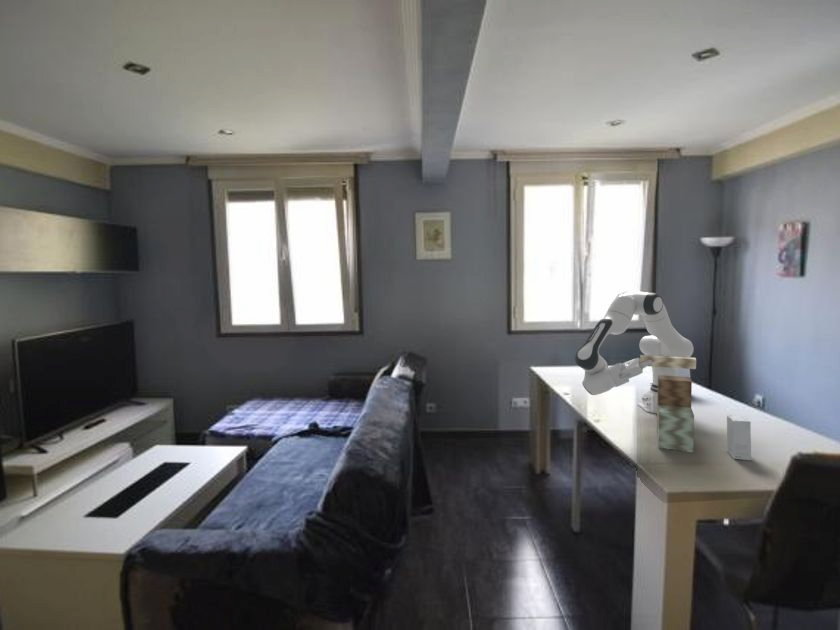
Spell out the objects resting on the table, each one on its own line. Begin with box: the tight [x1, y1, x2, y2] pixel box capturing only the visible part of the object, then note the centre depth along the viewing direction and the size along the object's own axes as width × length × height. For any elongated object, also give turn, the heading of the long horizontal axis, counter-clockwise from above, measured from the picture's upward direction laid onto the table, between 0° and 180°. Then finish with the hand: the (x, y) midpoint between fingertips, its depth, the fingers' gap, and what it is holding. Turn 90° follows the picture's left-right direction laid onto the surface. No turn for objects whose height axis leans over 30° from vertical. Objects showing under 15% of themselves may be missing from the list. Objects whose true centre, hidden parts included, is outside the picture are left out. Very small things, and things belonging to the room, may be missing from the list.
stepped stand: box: [656, 375, 695, 453], centre depth 181 cm, size 12×20×26 cm, turn 153°
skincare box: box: [726, 415, 752, 462], centre depth 166 cm, size 8×6×15 cm
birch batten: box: [639, 354, 697, 370], centre depth 180 cm, size 20×4×4 cm, turn 63°
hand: (651, 359), depth 182 cm, fingers closed on birch batten, 4 cm apart
